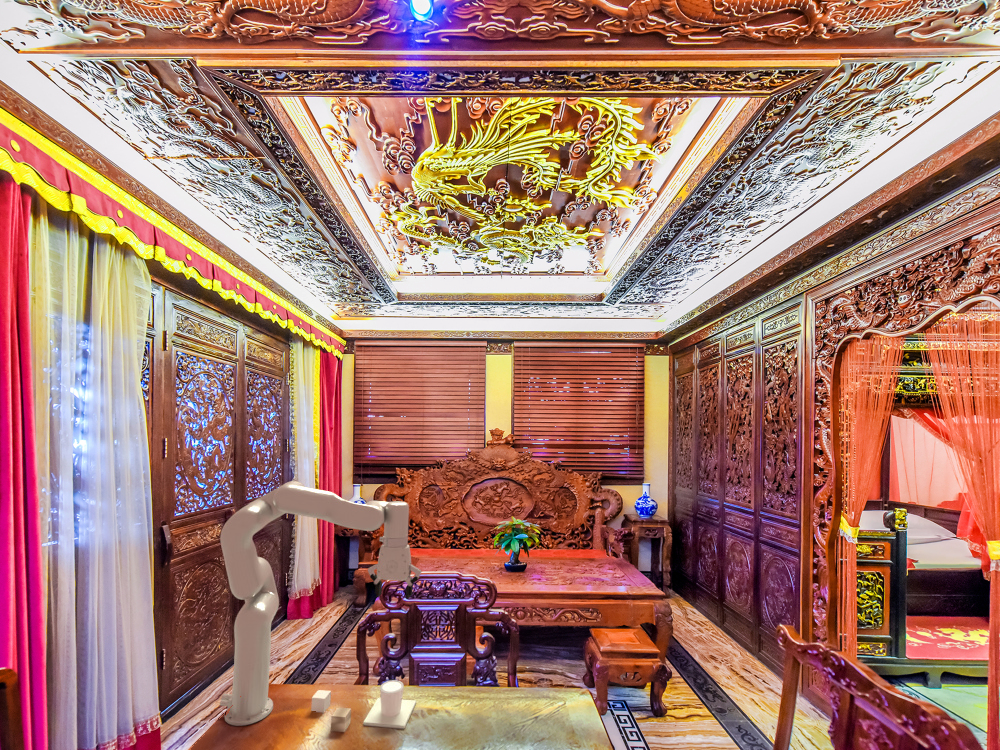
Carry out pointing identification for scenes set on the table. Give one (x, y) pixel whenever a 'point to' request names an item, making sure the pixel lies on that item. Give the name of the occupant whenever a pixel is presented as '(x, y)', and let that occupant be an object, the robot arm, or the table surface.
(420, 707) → the table surface
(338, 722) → the birch block
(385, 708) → the white rounded piece
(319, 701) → the off-white plastic block
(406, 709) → the cream pad
